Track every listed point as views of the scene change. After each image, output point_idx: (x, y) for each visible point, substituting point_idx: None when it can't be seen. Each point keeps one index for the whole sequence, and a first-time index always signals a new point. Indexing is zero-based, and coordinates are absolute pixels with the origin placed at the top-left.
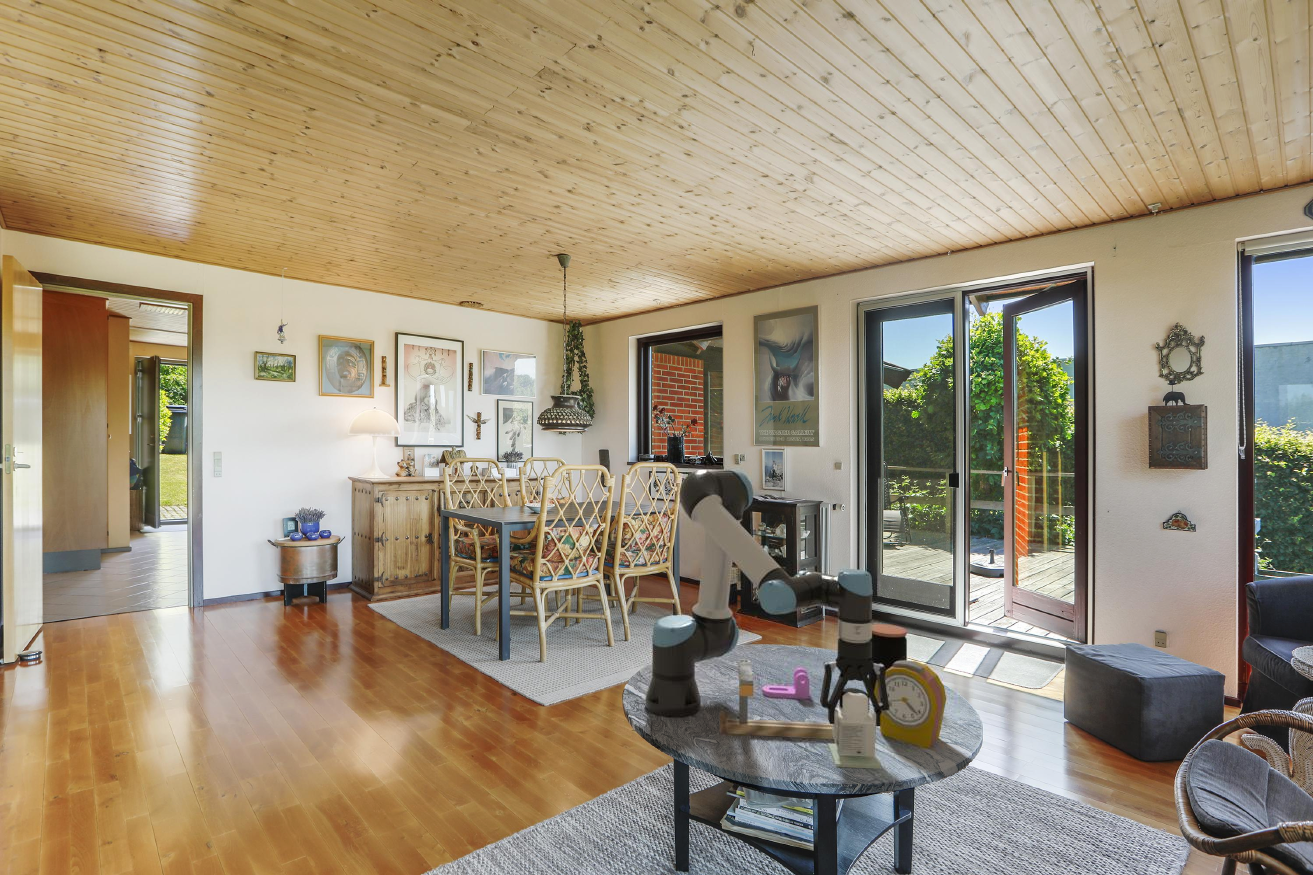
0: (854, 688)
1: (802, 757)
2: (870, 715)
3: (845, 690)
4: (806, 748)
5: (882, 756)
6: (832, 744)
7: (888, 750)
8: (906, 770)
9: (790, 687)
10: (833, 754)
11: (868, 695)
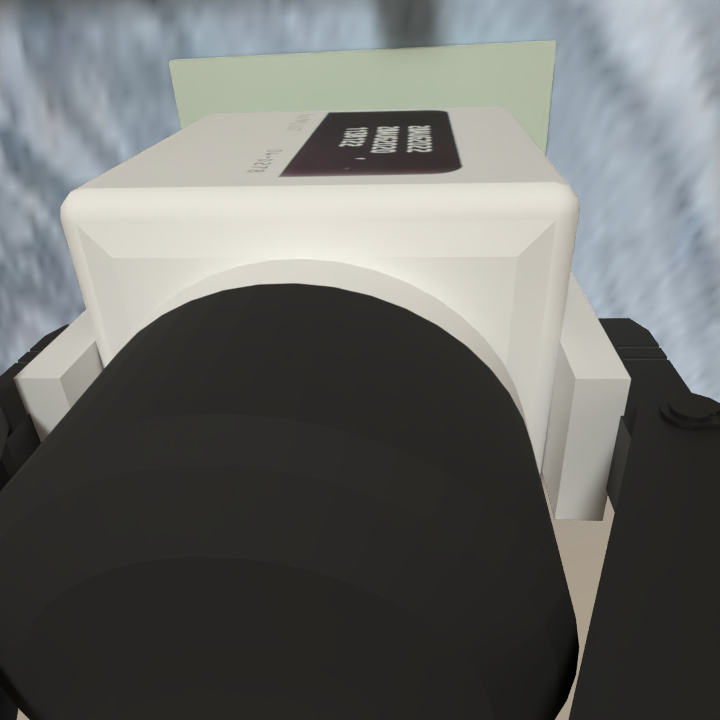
0: (279, 572)
1: (20, 283)
2: (541, 415)
3: (59, 680)
4: (18, 138)
5: (594, 190)
6: (208, 76)
7: (700, 62)
8: (679, 370)
9: None
10: None
11: (552, 717)
